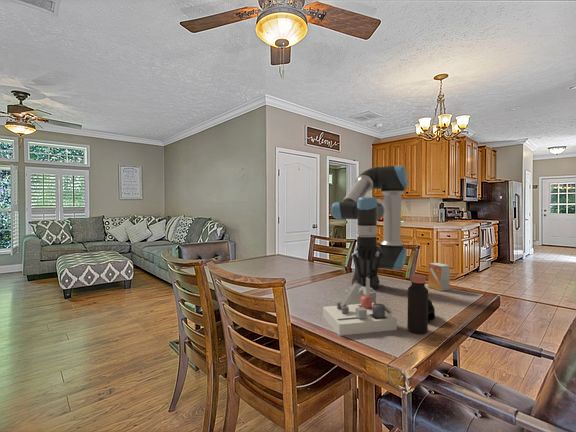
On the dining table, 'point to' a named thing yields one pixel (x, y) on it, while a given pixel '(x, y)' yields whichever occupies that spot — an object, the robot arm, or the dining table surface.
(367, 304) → the button red
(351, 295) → the lever
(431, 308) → the fried shrimp in bowl
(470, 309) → the dining table surface
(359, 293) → the lumpy-topped squat cylinder
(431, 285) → the small box
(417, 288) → the bottle
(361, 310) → the slider knob
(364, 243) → the robot arm
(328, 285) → the dining table surface
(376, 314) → the button black
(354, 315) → the panel
